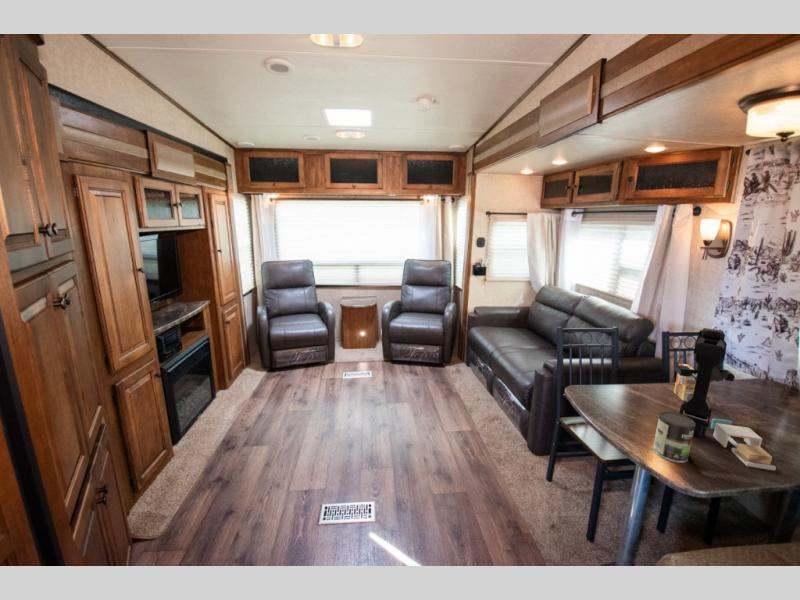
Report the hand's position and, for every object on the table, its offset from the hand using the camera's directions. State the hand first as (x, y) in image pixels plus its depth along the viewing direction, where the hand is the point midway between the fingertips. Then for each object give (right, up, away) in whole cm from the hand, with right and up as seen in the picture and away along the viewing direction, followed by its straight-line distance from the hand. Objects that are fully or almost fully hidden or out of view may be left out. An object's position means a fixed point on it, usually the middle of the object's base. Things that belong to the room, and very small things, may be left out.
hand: (700, 391), depth 148 cm
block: (-7, -16, -29) cm, 34 cm away
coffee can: (-32, -17, -24) cm, 43 cm away
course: (-5, -16, -20) cm, 26 cm away
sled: (-5, -15, -22) cm, 27 cm away
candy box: (+7, -8, +17) cm, 20 cm away
